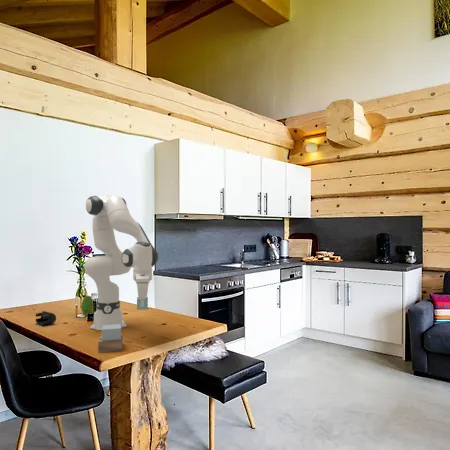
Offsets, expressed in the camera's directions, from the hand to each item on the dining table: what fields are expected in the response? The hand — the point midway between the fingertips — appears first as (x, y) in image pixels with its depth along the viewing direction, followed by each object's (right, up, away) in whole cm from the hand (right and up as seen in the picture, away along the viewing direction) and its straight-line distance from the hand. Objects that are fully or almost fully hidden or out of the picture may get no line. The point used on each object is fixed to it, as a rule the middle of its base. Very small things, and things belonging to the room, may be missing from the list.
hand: (142, 304), depth 188 cm
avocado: (-46, -18, +56) cm, 75 cm away
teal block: (0, -2, 0) cm, 2 cm away
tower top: (-11, -13, -11) cm, 20 cm away
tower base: (-12, -18, -11) cm, 24 cm away
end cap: (-61, -18, +32) cm, 71 cm away
